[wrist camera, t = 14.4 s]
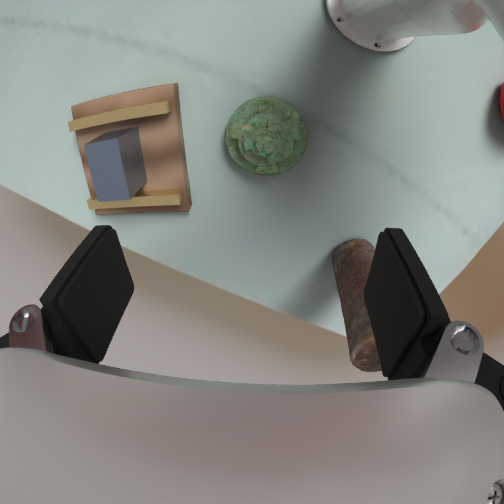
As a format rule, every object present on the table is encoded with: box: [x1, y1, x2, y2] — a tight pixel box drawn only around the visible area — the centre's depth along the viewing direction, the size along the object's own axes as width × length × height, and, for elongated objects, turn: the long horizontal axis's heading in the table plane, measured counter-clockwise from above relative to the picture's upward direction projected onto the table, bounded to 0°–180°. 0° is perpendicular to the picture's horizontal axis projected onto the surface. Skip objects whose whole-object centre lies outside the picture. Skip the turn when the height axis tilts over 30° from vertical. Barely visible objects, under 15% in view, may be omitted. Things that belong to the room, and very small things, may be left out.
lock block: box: [84, 126, 147, 202], centre depth 34 cm, size 8×5×6 cm, turn 2°
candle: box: [332, 239, 382, 372], centre depth 38 cm, size 8×7×20 cm
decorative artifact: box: [225, 97, 307, 175], centre depth 33 cm, size 10×7×10 cm
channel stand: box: [68, 83, 192, 215], centre depth 36 cm, size 18×16×4 cm
